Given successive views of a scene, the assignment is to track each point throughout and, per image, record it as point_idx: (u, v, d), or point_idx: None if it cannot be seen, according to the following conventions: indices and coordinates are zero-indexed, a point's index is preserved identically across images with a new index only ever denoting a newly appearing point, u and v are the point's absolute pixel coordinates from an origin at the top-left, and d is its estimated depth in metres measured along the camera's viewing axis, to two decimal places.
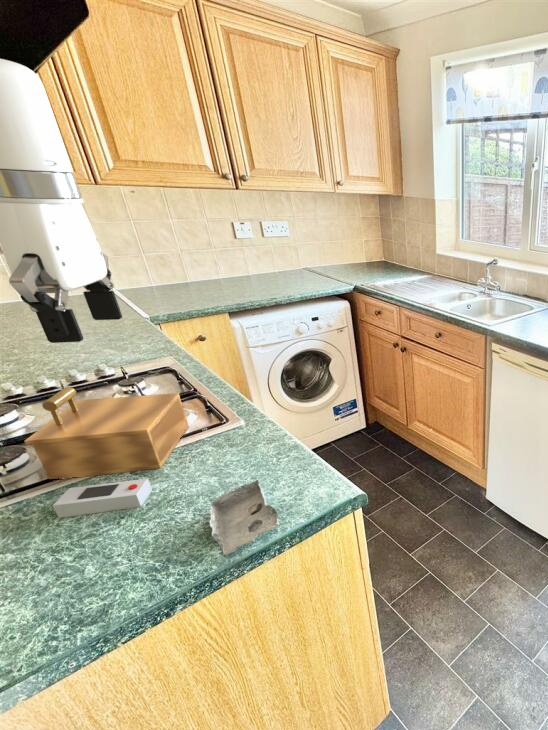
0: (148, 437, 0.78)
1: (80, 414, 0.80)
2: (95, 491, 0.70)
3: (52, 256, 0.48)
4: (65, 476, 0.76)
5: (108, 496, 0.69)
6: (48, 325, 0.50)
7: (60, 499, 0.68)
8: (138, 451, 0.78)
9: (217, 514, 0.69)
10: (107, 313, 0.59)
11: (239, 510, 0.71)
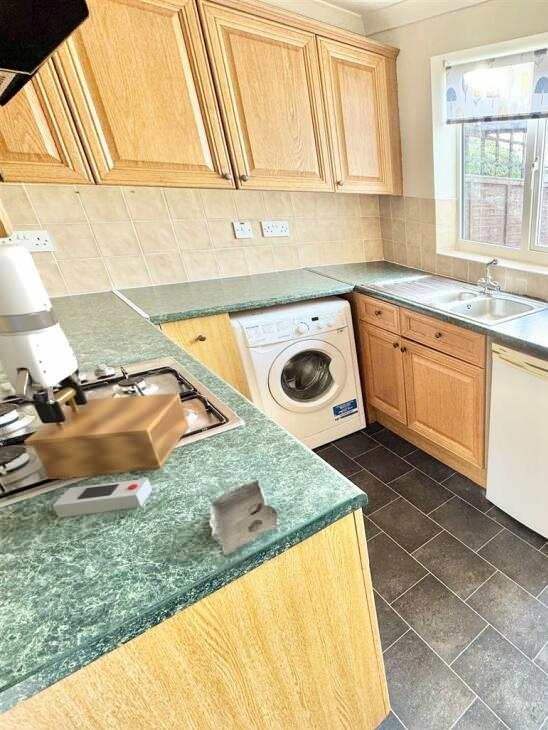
0: (148, 437, 0.78)
1: (80, 414, 0.80)
2: (95, 491, 0.70)
3: (36, 368, 0.70)
4: (65, 476, 0.76)
5: (108, 496, 0.69)
6: (42, 413, 0.74)
7: (60, 499, 0.68)
8: (138, 451, 0.78)
9: (217, 514, 0.69)
10: (76, 401, 0.81)
11: (239, 510, 0.71)
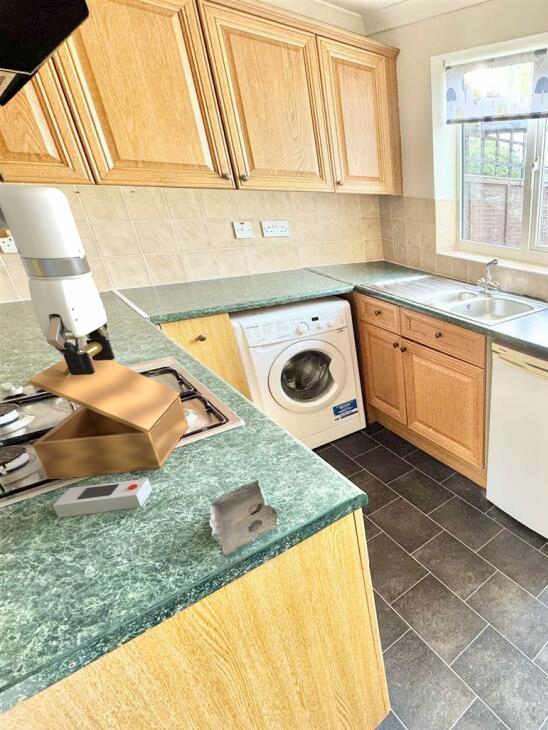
0: (148, 437, 0.78)
1: None
2: (95, 491, 0.70)
3: (69, 315, 0.69)
4: (65, 476, 0.76)
5: (108, 496, 0.69)
6: (71, 363, 0.72)
7: (60, 499, 0.68)
8: (138, 451, 0.78)
9: (217, 514, 0.69)
10: (103, 355, 0.79)
11: (239, 510, 0.71)
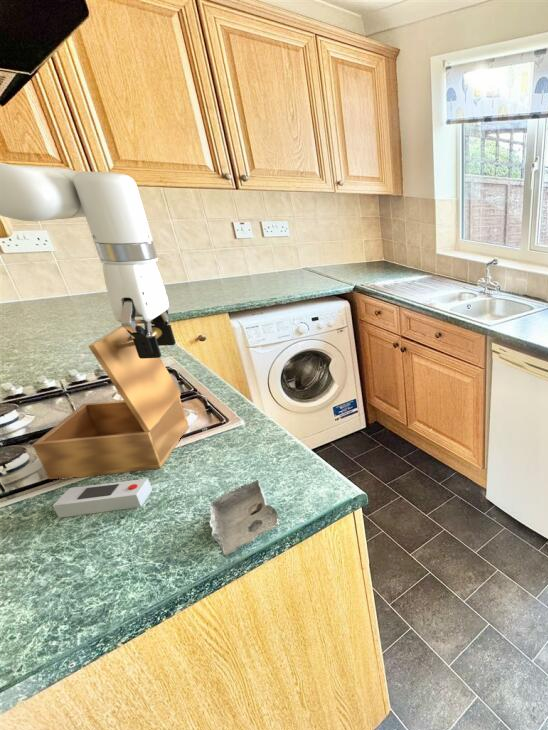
0: (148, 437, 0.78)
1: (130, 347, 0.78)
2: (95, 491, 0.70)
3: (140, 299, 0.71)
4: (65, 476, 0.76)
5: (108, 496, 0.69)
6: (140, 347, 0.74)
7: (60, 499, 0.68)
8: (138, 451, 0.78)
9: (217, 514, 0.69)
10: (165, 341, 0.81)
11: (239, 510, 0.71)
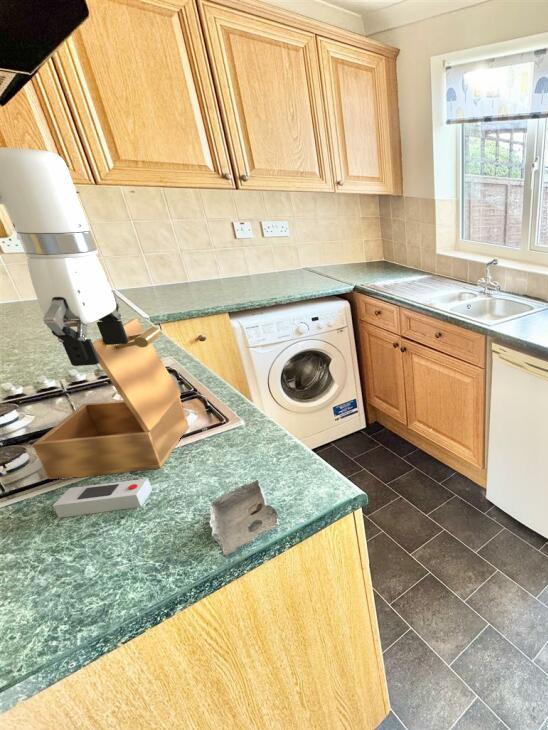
0: (148, 437, 0.78)
1: (130, 347, 0.78)
2: (95, 491, 0.70)
3: (75, 298, 0.61)
4: (65, 476, 0.76)
5: (108, 496, 0.69)
6: (72, 352, 0.62)
7: (60, 499, 0.68)
8: (138, 451, 0.78)
9: (217, 514, 0.69)
10: (116, 339, 0.72)
11: (239, 510, 0.71)
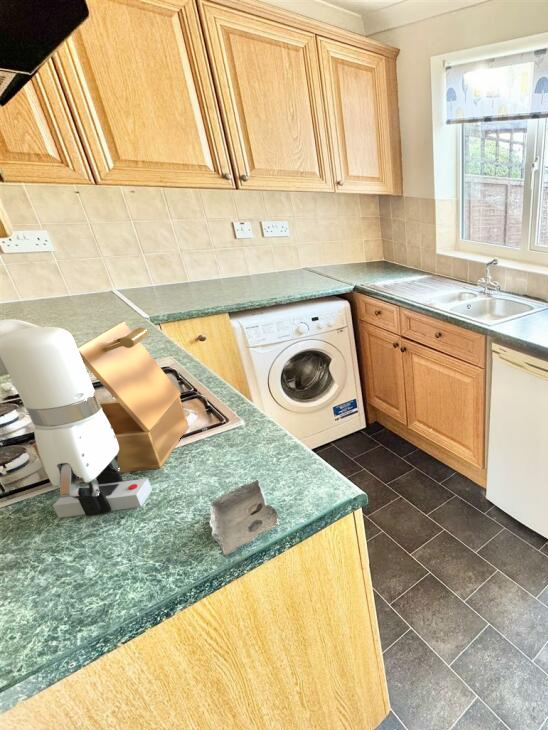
0: (148, 437, 0.78)
1: (119, 349, 0.78)
2: None
3: (79, 462, 0.63)
4: None
5: (108, 496, 0.69)
6: (86, 506, 0.67)
7: (60, 499, 0.68)
8: (138, 451, 0.78)
9: (217, 514, 0.69)
10: None
11: (239, 510, 0.71)
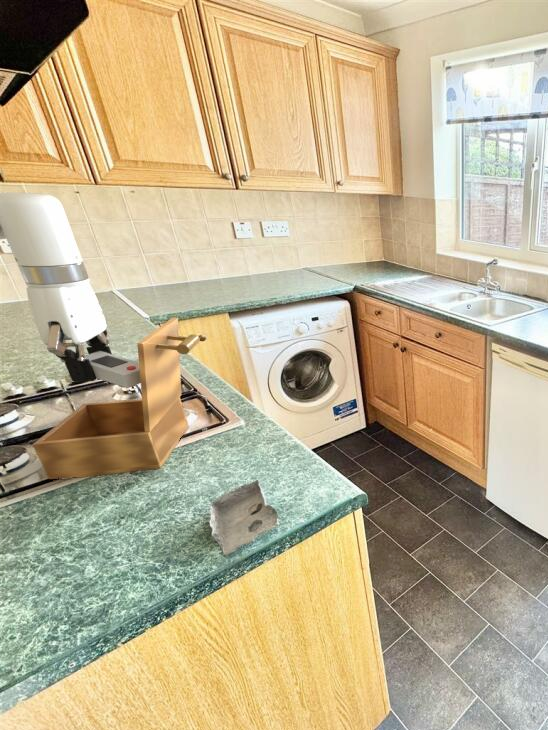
0: (148, 437, 0.78)
1: None
2: (107, 360, 0.76)
3: (68, 322, 0.69)
4: (65, 476, 0.76)
5: (108, 367, 0.74)
6: (72, 370, 0.72)
7: None
8: (138, 451, 0.78)
9: (217, 514, 0.69)
10: None
11: (239, 510, 0.71)
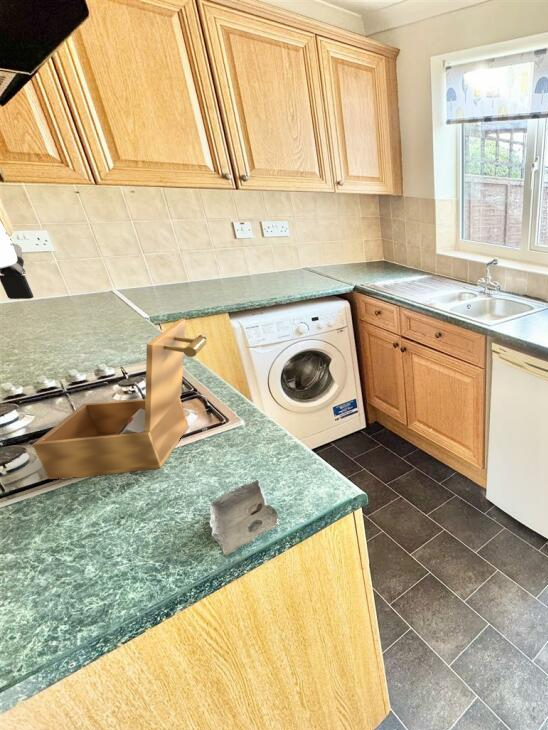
0: (148, 437, 0.78)
1: None
2: (123, 427, 0.81)
3: None
4: (65, 476, 0.76)
5: (122, 431, 0.79)
6: None
7: None
8: (138, 451, 0.78)
9: (217, 514, 0.69)
10: (20, 293, 0.73)
11: (239, 510, 0.71)
